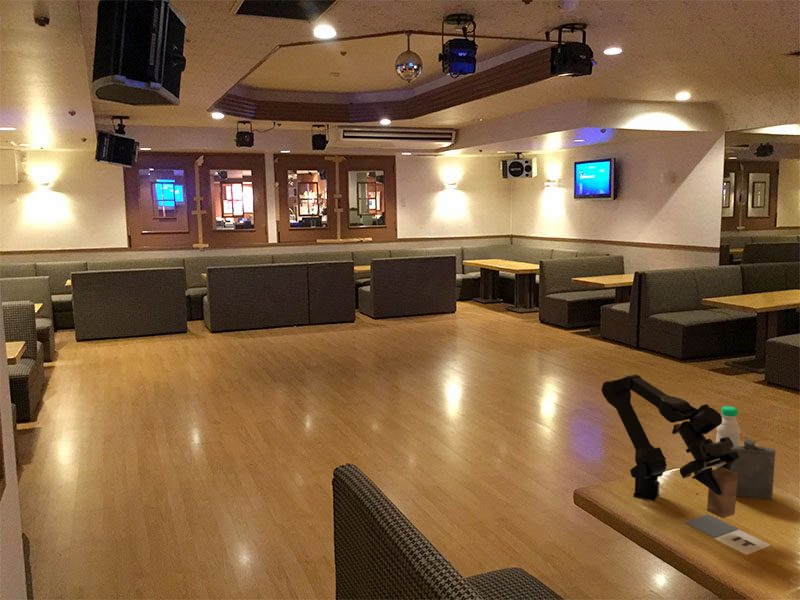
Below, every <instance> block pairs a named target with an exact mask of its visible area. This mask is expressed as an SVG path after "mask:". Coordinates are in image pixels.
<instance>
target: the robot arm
mask: <svg viewBox="0 0 800 600" xmlns="http://www.w3.org/2000/svg"><path fill="white" fill-rule="evenodd" d="M631 391H632V392H634V393H635V394H636V395H638V396H640V397H641V398H643V399H644V400H645V401H647V402H649V403H650V404H651V405H653V406H654V407H656V408H657V409H658V412H659V414H660V415H661V416H662V417H663V418H664V419H665V420H666V421H667V422H669V423H676V424H673V429H672V432H671V434H672V435H676V434H679V436H680V437H681V439H682V440H683V443H684V444H685V446H686V447H687V448H686V449H685V451H686V454H691V456H692V458H693V459H694V460H692V461H689V462H687V463H686V464H685V465H683V466H681V467H680V468H679V474H680V475H681V478H682V479H687V478H690V477H691V478H692V479H693V480H697V481H698V482H700V483H701V484H702V485H703V486H705V487H706V488H708V490H709V489H711V490H712V491H714V492H715V493H716V494H718V495H720V494H722V493H721V490H720V488H719V486H718V484H717V483H716V481H715V479H714V477H713V475H712V470H713V467H714V469H715V468H716V469H717V468H721V467H723V468H725V469H728V470H730V471H731V465H732V464H733V462H734V461H735V460H736V459H738V458H740V457H739V455H738V453H737V452H736V451H734V450H731V448H733V446H734V444H733V443H732V441H731V440H730V438H729V437H724V438H720V442H716V441H715V442H713V440H712V439H711V438H706V436H705V435H707V434H709V433H710V432H712V431H713V430H714V429H717V427H718V426H719V425H721V423H722V417H723V416H722V414H720V412H718V411H717V410H716V409H714V408H713V407H710V405H709V404H708V403H705V404H702V405H701V406H700V407H698V408H696V407H694V406H692V405H691V404H690V402H688V401H687V400H684V399H682V398H680V397H676V396H671V395H668V394H666V393H665V392H664V391H662V390H661V389H660V388H657V387H656V386H654V385H652V384H650V383H649V382H647V380H645V379H643V378H642V377H641V375H639V374H630V375H627V376H626V375H625V377H622V378H618V379H612V380H607V381H605V382H603V384H602V386H601V393H602V395H603V397H604V398H605V400H606V401H607V403H608V404H609V405H611V406H612V407H613V408H614V409H615V410H616V412H617V414H618V416H619V417H620V420H621V422H622V424H623V426H624V428H625V430H626V431H625V432H626V433H627V435H628V437H629V440H630V441H631V443H632V446H633V448H634V450H635V454H634V462H635V464H636V465H634V467H632V468H631V469H629V471H630V476H631V477H632V478H634V492H633V494H632V497H636V498H640V499H645V500H649V501H655V500H656V498H657V497H659V495H660V483H661V482H660V481H659V478H660V477H662V476H663V475H664V472H665V471H666V469H667V465H668V464H667V461H666V460H667V458H666V456H664V453H663V451H662V449H661V448H660V447H659V446H658V447H655V446H653V444H652V443H651V442H650V440H649V438H648V436H647V434H646V432H645V430H644V428H643V426H642V424H641V421H640V419H639V417H638V415H637V413H636V411H635V409H634V407H633V406H632V402H631V399H632V392H631ZM677 422H681V423H677ZM692 474H693V476H692Z"/></svg>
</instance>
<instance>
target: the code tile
mask: <svg viewBox="0 0 800 600" xmlns="http://www.w3.org/2000/svg"><path fill="white" fill-rule="evenodd" d="M713 539H714V540H716V541H718V542H720V543H722V544H724V545H727V546H728V547H731V548H732V549H734V550H736V551H738V552H740V553H742V554H744V555H746V556H747V555H751V554H752V553H756V552H757V551H760V550H763V549H764V548H768V547H770V546H771V544H770V543H768V542H765V541H764V540H761V539H760V538H758V537H755V536H753V535H751V534H750V533H747V532H745V531H742V530H740V529H739V528H738V529H737V530H734V531H732V532H729V533H726V534H724V535H721V536H718V537H716V538H713Z"/></svg>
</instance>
